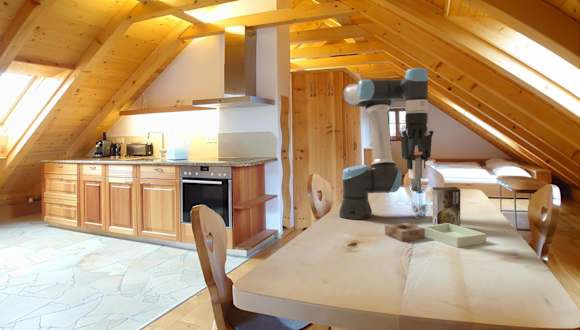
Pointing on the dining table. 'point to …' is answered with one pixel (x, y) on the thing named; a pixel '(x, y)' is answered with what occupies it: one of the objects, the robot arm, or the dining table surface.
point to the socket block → (404, 232)
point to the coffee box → (446, 205)
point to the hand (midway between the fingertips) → (416, 177)
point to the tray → (454, 235)
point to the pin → (417, 172)
